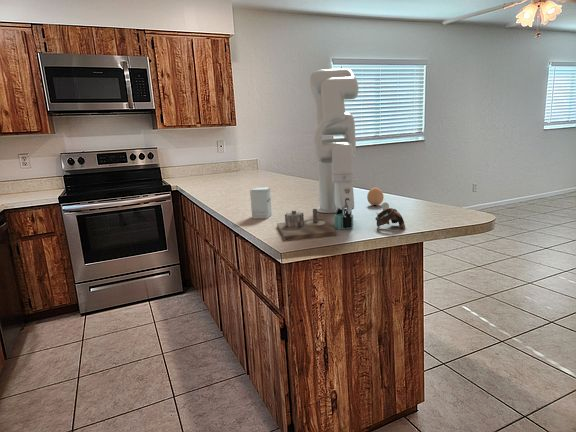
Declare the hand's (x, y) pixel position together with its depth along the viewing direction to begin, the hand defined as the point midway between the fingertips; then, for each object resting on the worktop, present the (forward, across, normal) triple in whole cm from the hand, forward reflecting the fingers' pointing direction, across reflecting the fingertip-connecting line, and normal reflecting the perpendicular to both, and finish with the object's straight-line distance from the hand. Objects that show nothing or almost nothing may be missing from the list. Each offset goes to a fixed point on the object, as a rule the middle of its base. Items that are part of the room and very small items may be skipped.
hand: (344, 224), depth 147 cm
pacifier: (+1, +8, -20) cm, 21 cm away
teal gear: (+1, 0, 0) cm, 1 cm away
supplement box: (+1, +31, +28) cm, 42 cm away
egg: (+1, +33, -25) cm, 41 cm away
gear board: (+1, 0, +15) cm, 15 cm away
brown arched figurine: (+1, -6, -16) cm, 17 cm away
